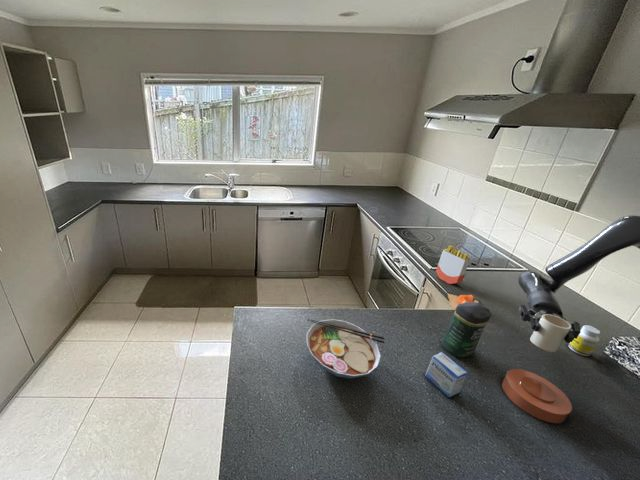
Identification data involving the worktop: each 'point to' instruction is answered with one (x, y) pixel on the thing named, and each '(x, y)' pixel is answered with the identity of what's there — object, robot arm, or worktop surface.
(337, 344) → the ramen bowl
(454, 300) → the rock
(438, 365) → the medicine box
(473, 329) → the coffee jar
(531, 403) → the terracotta pedestal disc
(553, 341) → the cream cup
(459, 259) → the french fries container
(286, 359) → the worktop surface
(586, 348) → the supplement bottle
